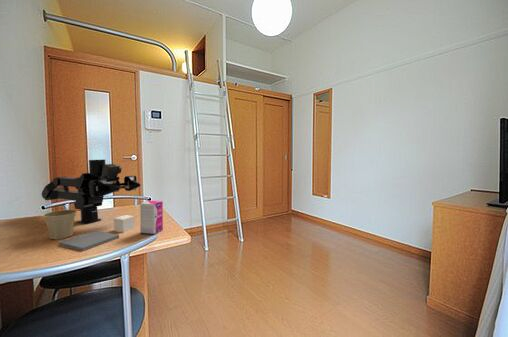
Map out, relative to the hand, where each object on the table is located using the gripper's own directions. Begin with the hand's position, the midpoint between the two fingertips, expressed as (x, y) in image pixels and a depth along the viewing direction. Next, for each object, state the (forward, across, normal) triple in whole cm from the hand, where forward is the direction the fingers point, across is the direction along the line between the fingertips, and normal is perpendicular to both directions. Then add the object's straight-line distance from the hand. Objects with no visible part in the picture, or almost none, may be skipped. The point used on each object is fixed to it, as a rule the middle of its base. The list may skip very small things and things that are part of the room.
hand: (130, 186), depth 91 cm
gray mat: (-1, -15, +16) cm, 22 cm away
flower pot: (-15, -16, +17) cm, 28 cm away
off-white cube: (-1, -2, +17) cm, 17 cm away
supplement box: (+11, 0, +17) cm, 20 cm away
